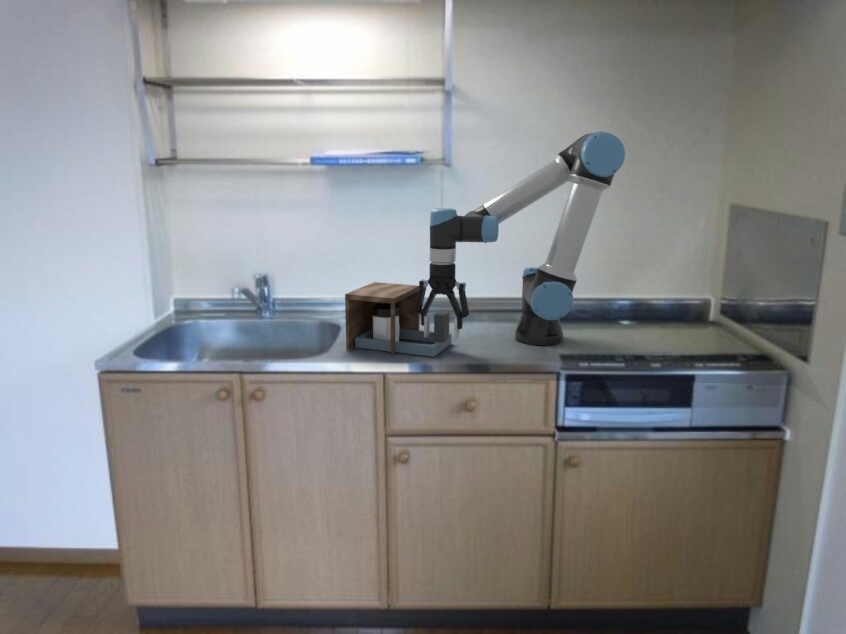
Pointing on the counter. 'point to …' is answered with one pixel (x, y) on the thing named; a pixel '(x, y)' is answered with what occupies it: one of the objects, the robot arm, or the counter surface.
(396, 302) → the open box
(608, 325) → the counter surface
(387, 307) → the jar
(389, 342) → the tray
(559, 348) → the counter surface
